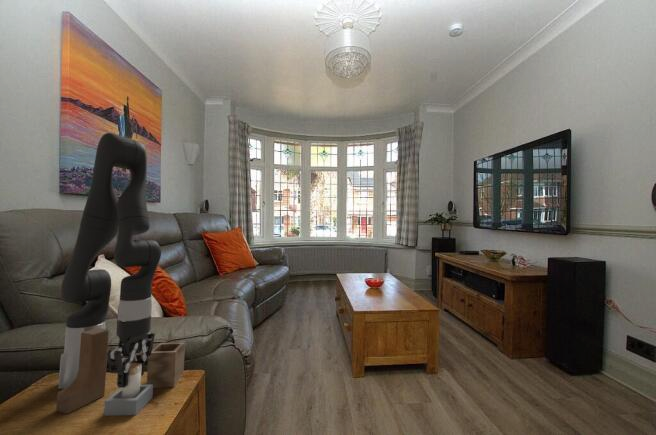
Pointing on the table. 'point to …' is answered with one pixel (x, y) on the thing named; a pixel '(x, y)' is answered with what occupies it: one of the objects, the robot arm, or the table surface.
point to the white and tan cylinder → (133, 381)
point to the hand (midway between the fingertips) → (131, 380)
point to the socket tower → (166, 364)
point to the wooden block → (87, 372)
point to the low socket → (128, 402)
